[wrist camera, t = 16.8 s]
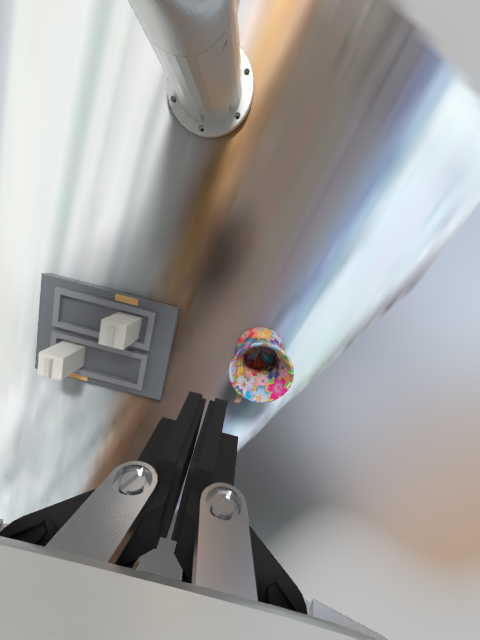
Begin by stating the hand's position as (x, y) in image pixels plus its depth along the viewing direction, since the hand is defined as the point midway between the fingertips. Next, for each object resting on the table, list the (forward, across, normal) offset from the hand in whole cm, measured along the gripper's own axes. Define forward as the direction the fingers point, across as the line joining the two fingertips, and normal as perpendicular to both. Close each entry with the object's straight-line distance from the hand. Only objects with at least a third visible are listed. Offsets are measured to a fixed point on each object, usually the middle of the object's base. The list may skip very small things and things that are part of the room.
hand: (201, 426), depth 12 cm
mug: (+37, -5, +10) cm, 39 cm away
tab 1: (+36, +27, +18) cm, 48 cm away
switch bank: (+37, +22, +14) cm, 45 cm away
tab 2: (+36, +18, +10) cm, 41 cm away
